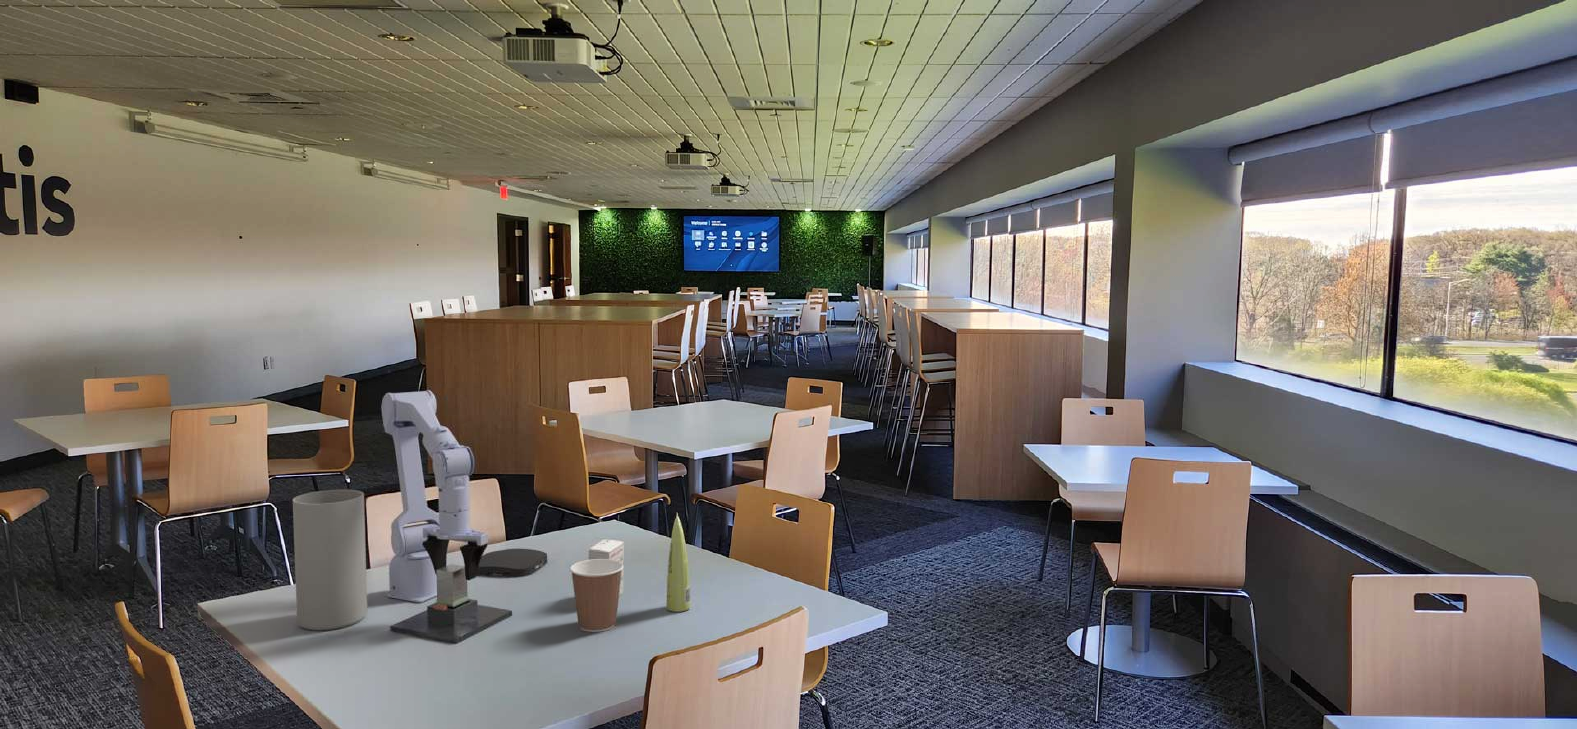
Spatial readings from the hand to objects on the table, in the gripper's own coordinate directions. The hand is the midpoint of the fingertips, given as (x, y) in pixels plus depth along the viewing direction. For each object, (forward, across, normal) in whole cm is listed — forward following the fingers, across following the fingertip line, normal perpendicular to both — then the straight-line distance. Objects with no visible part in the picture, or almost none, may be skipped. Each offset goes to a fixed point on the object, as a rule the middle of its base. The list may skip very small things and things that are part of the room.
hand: (455, 576), depth 179 cm
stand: (+9, 0, -1) cm, 9 cm away
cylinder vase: (+9, -23, -9) cm, 26 cm away
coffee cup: (+9, +27, +9) cm, 30 cm away
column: (+5, 0, -1) cm, 5 cm away
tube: (+9, +37, +24) cm, 45 cm away
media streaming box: (+10, -13, +33) cm, 37 cm away
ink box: (+9, +20, +23) cm, 32 cm away
